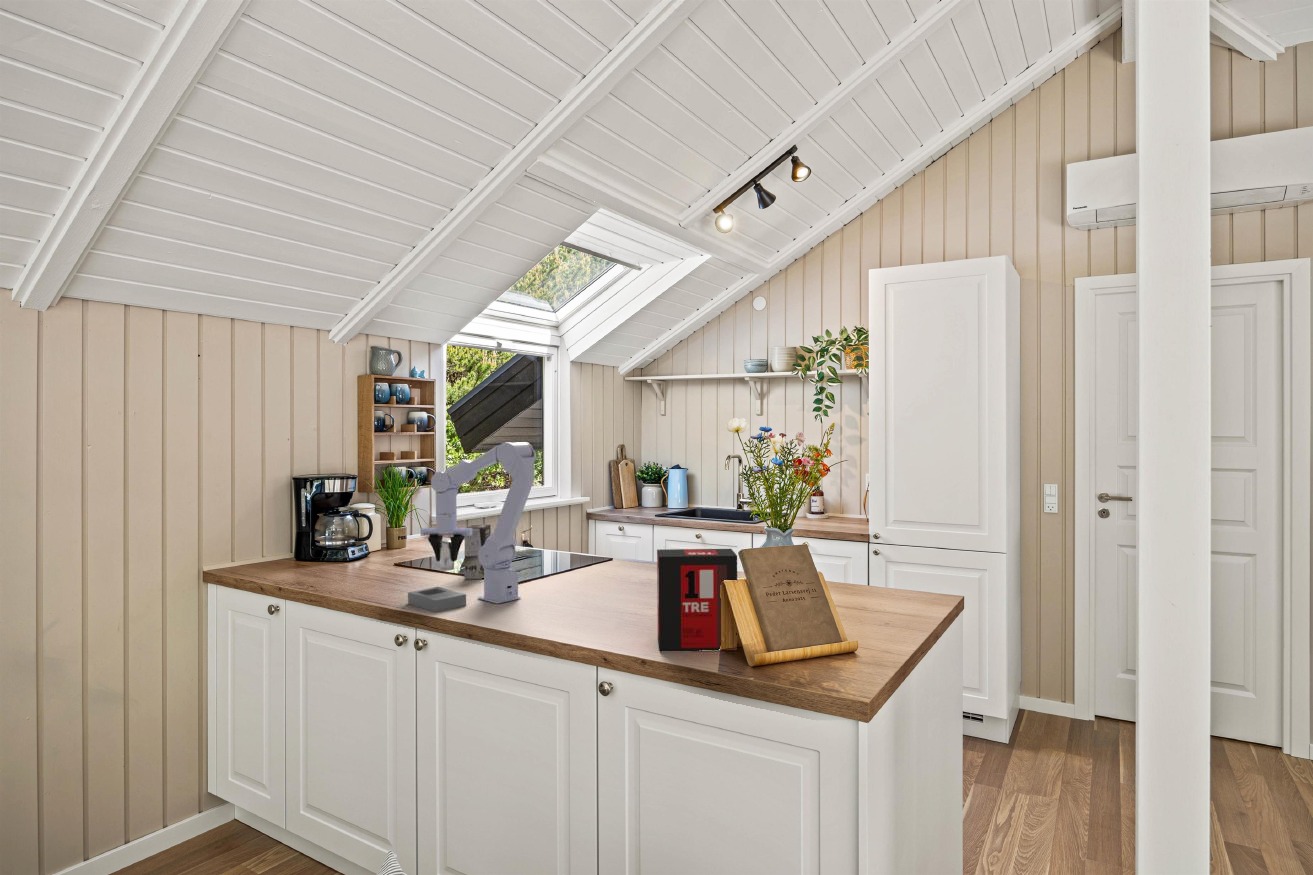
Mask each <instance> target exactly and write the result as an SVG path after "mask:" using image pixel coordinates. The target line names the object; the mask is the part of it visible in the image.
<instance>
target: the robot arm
mask: <svg viewBox="0 0 1313 875" xmlns="http://www.w3.org/2000/svg"><path fill="white" fill-rule="evenodd" d="M536 458H537V454H536V452H535V450H534V448H533V445H532V444H530V443H529V442H527V441H520V442H507V441H506V442H502V443H500V444H499V445H495V446H494V447H493V448H492V449H490V450H488V451H486V452H485V453H483V454H481V455H480V456H478V457H476V458H475V459H473V460H470V459H460V460H458V461H457V462H458V463H457V464H454V466H448V467H447V468H446V470H445V471H437V472H435V473H434V474H433V475H432V477H431V479H430V485H431V488H432V489H433V490H434V492H435V527H422V528H420V536H421V537H424V536H429V537H428V538H427V540H428V543H429V544H430V546H431V548H432V550H433V554H434V556H435V560H436V562H439V542H440V541H443V536H450V538H449V540H451V545H452V561H454V562H456V561H457V560H458V556H459V552H460V549H461V546H462V543H463V541H464V540H465V535H467V536H471V535H472V528H467V527H457V526H458V525H457V522H458V521H457V518H458V517H457V516H458V511H457V506H458V505H457V495H459V493H458V491H459V488H460V487H461V486H462V485H464V484H466V483H468V482H469V481H472V480H473V479H475V478H476V477H477V475H478V472H480V471H482V470H484V469H485V468H488V467H490V466H493V465H495V464H497V463H499V464H500V465H501V466H502V468H503V469H504V470H505V471H506V472H507V473H508V475H509V476H510V477H511V479H512V481H511V484H510V486H509V489H508V492H507V495H506V497H505V500H504V504H503V506H502V509H501V511H500V513H499V514H500V515H499V517H498V519H497V523H496V525H495V528H494V530H493V532H492V533H491V535H490V536H489V537H488V538H487V539H486V542H485V544H484V545H483V546H482V547H481V548H480V549H479V552H478V559H479V562H480V563H481V565H483V568H484V579H483V595H479V596H477V599H478V600H482V601H485V602H489V603H494V604H502V603H507V602H511V601H516V600H520V599H521V598H522V597H521V596H520V595H519V577H518V574H517V572H516V571H515V569H512V567H511V566H512V561H513V560H514V559H515V557H516V545H517V542H518V540H517V539H516V538H515V533H516V531H517V528H518V525H519V522H520V520H521V517H522V515H523V511H524V509H525V506H526V503H527V500H528V498H529V495H530V492H531V490H532V487H533V484H534V482H535V476H536V475H535V461H536Z"/></svg>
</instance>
